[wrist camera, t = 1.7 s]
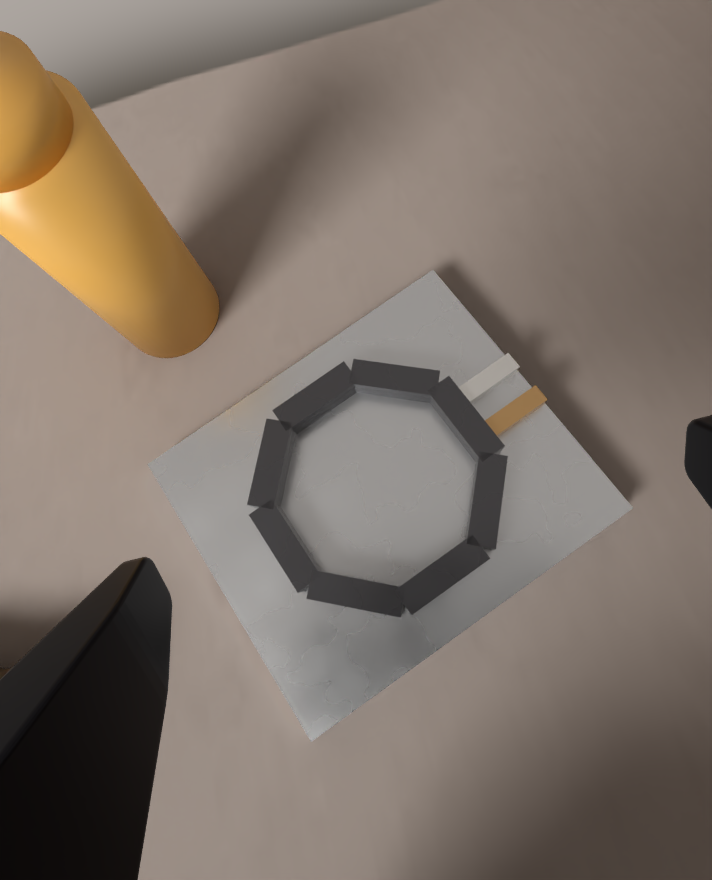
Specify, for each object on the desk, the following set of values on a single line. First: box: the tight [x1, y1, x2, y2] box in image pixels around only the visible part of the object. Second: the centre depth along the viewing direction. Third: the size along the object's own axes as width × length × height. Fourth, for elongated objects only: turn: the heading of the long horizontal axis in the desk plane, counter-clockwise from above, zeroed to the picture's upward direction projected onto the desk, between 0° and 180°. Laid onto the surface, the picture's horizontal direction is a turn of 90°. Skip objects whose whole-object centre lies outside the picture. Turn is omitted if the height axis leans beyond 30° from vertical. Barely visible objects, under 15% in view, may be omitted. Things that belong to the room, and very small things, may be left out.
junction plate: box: [148, 270, 633, 742], centre depth 21 cm, size 14×12×2 cm
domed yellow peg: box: [0, 31, 219, 358], centre depth 20 cm, size 4×4×12 cm
